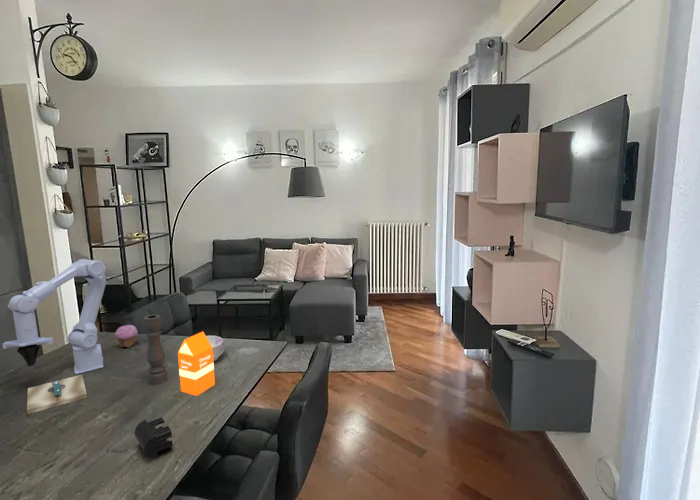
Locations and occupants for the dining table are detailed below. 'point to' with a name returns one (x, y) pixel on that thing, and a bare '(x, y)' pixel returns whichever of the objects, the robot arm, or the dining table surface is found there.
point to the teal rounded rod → (56, 387)
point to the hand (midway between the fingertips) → (31, 364)
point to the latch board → (46, 398)
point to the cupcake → (126, 335)
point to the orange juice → (196, 364)
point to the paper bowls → (216, 346)
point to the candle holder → (155, 350)
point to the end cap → (154, 438)
